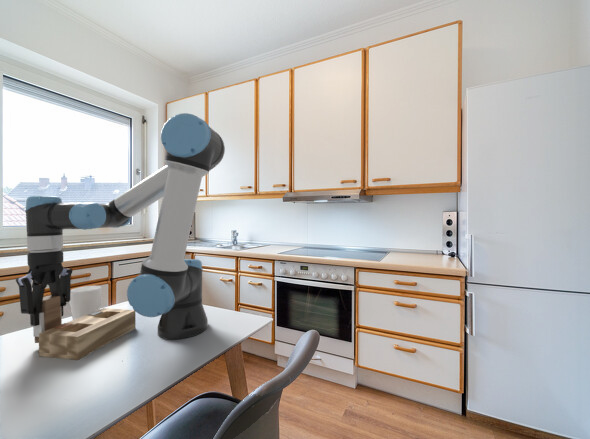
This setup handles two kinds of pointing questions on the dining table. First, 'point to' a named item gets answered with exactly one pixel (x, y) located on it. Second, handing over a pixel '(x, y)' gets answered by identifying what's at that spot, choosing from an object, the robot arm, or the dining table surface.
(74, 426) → the dining table surface
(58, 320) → the plug
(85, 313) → the cup
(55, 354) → the box
